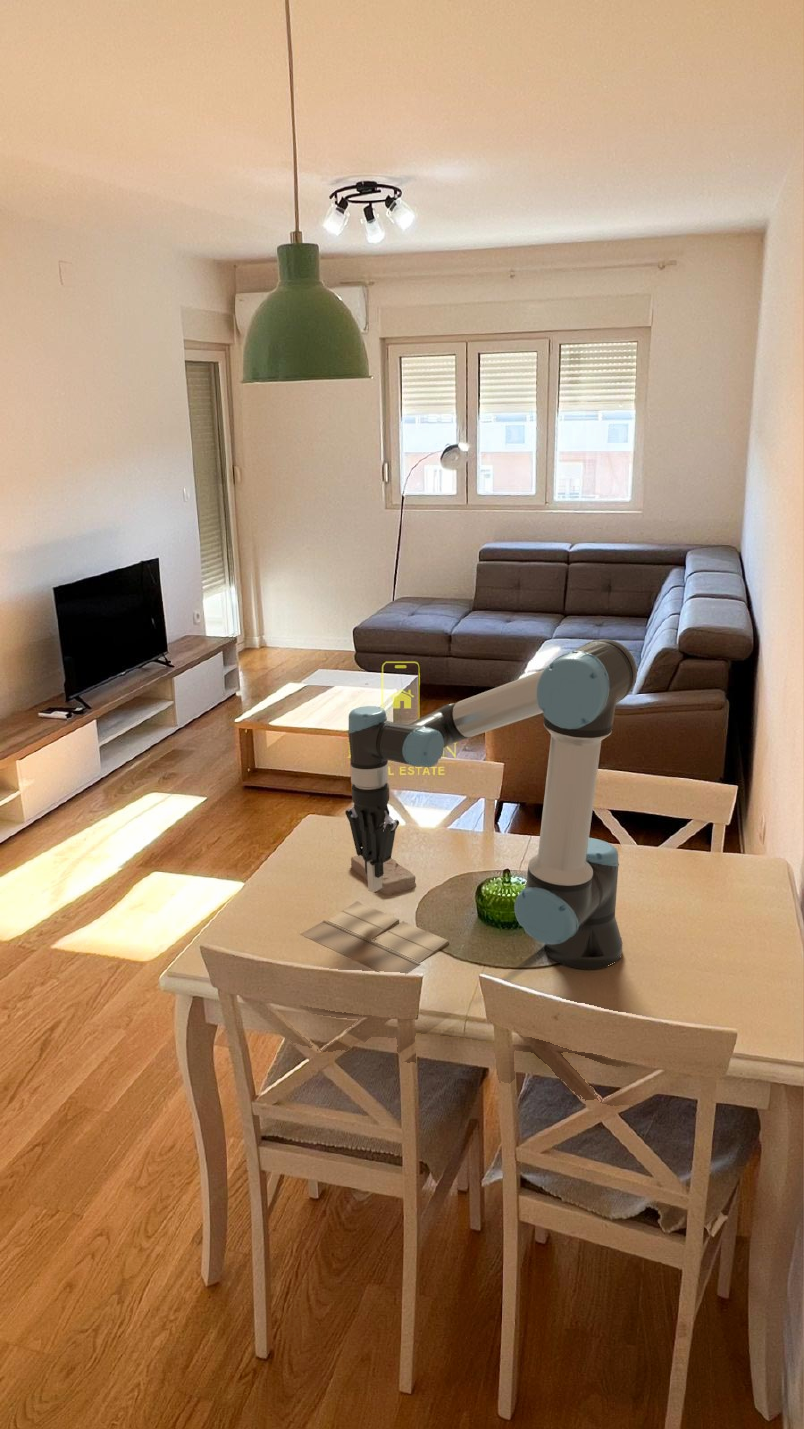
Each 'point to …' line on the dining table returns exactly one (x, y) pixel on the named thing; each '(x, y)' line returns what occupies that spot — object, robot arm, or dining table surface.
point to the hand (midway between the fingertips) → (375, 889)
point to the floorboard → (359, 948)
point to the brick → (387, 875)
